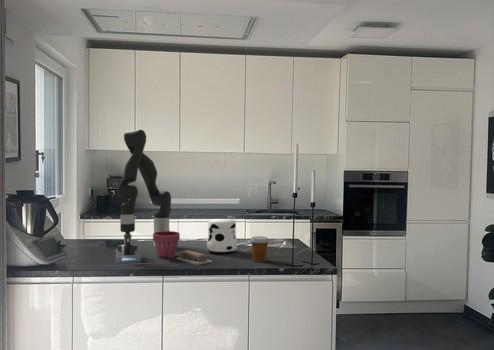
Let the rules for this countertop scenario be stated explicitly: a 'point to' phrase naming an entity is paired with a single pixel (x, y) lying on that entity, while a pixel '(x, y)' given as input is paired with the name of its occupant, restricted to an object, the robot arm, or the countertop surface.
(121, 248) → the charcoal rectangular prism
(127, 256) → the white pegged board
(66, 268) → the countertop surface
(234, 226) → the milk container
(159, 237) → the plant pot
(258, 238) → the disposable coffee cup
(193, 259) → the packaged product
